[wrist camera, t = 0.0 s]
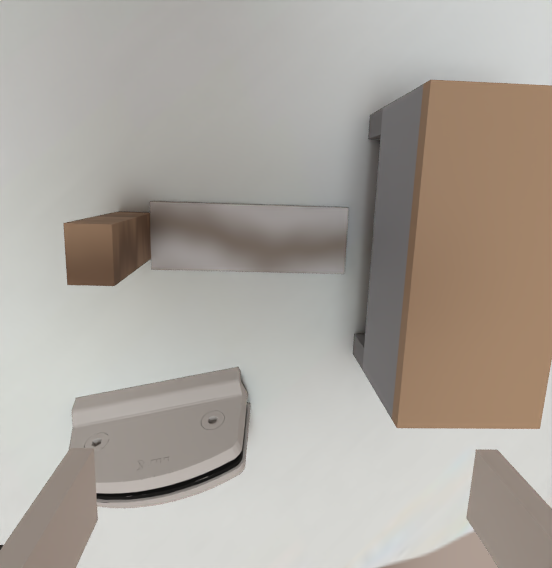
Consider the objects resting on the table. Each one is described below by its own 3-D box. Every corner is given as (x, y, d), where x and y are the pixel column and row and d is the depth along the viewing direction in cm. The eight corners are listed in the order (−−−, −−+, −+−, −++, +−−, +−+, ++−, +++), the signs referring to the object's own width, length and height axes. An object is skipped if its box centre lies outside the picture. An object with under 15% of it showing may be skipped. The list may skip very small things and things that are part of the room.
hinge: (242, 365, 45) (248, 452, 36) (251, 400, 47) (258, 487, 39) (72, 398, 44) (37, 492, 36) (89, 431, 47) (62, 526, 38)
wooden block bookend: (117, 200, 41) (62, 207, 29) (347, 207, 42) (383, 216, 30) (119, 267, 42) (68, 299, 30) (342, 272, 43) (376, 305, 31)
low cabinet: (370, 115, 40) (430, 79, 26) (490, 120, 41) (610, 88, 27) (352, 353, 45) (396, 428, 31) (461, 355, 45) (550, 428, 32)
